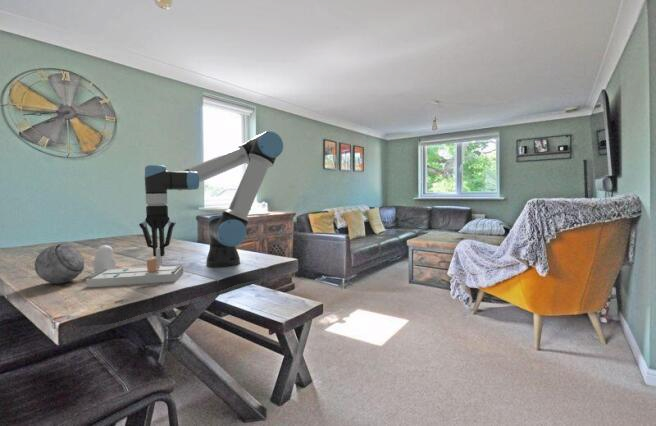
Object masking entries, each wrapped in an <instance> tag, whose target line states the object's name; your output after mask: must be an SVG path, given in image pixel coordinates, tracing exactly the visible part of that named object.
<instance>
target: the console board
mask: <svg viewBox="0 0 656 426" xmlns="http://www.w3.org/2000/svg"><path fill="white" fill-rule="evenodd" d="M159 268H160V269H158V270H157V271H156V272H147V267H140V268H139V267H138V268H137V267H136V268H120V269H118V268H117V269H113V270H107V269H103V270H101V271H99V272H97V273H93V274H91V275H90V276H88V277H87V278H86V280H85V281H86V288H97V287H99V288H101V287H113V286H126V285H140V284H141V285H143V284H157V283H173V282H177V281H178V280H179V278H180V277H181V276H182V275H183V274H184V265H182V264H177V265H173V266H159Z"/></svg>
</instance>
